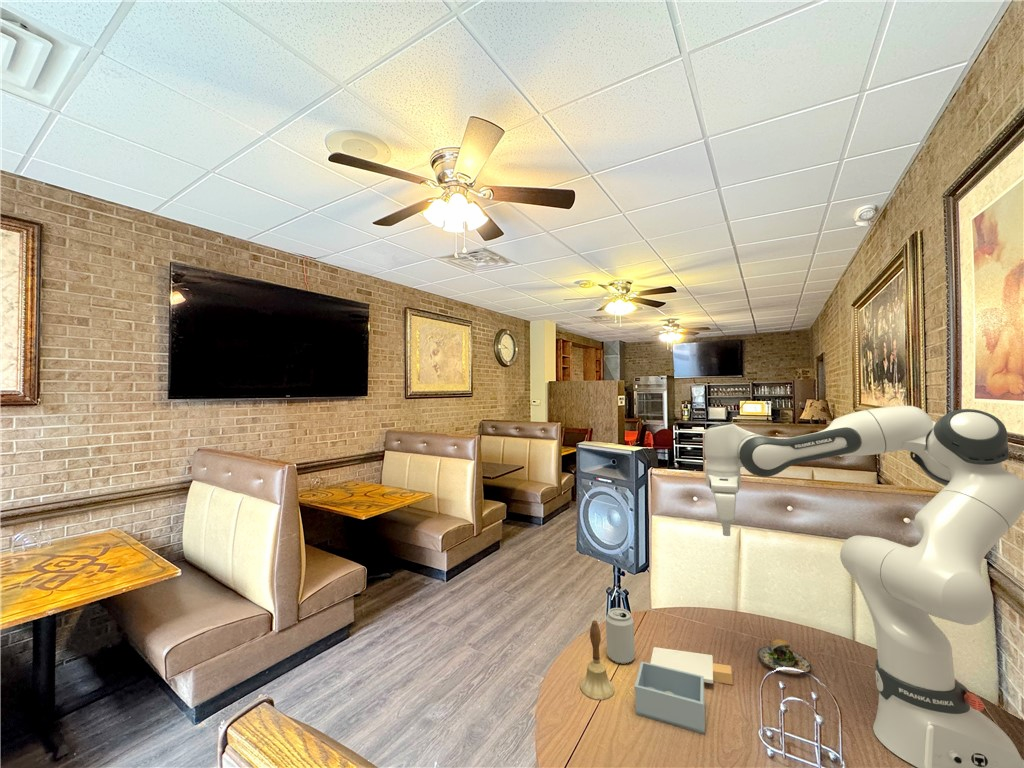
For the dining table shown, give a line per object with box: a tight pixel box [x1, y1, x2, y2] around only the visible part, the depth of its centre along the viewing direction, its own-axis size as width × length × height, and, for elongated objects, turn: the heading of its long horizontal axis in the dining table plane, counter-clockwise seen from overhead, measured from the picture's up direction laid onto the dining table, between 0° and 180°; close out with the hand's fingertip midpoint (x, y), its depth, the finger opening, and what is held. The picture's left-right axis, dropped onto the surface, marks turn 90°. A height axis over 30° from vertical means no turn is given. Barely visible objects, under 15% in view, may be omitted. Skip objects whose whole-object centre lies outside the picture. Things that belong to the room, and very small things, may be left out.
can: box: [605, 607, 636, 665], centre depth 112 cm, size 8×8×12 cm
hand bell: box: [579, 620, 615, 701], centre depth 100 cm, size 8×8×16 cm
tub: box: [634, 660, 706, 735], centre depth 92 cm, size 14×10×6 cm
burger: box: [757, 630, 813, 675], centre depth 107 cm, size 12×12×8 cm
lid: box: [649, 646, 734, 686], centre depth 105 cm, size 19×11×2 cm, turn 65°
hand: (725, 530), depth 113 cm, fingers open, 8 cm apart
